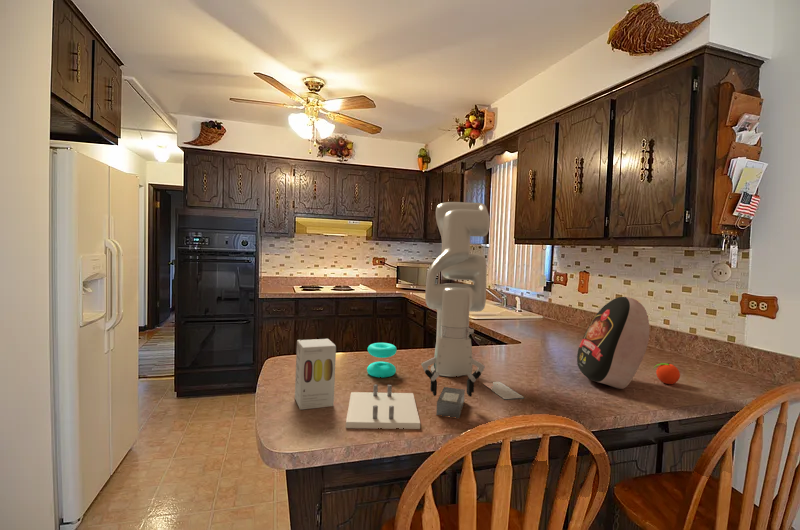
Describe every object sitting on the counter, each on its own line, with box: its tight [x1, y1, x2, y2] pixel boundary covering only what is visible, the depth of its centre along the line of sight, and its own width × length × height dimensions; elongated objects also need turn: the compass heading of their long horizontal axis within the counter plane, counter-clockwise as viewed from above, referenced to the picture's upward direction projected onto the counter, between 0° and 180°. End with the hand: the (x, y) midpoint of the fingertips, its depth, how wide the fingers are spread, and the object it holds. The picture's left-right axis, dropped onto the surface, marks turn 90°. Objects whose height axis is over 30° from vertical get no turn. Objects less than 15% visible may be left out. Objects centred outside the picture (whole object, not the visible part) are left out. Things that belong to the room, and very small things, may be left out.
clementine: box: [653, 362, 681, 385], centre depth 143 cm, size 8×7×7 cm
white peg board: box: [345, 383, 421, 430], centre depth 109 cm, size 20×18×4 cm
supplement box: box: [294, 338, 337, 410], centre depth 114 cm, size 10×9×17 cm
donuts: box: [366, 342, 398, 379], centre depth 141 cm, size 10×10×10 cm
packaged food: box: [576, 296, 651, 390], centre depth 140 cm, size 22×20×30 cm
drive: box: [436, 386, 465, 419], centre depth 113 cm, size 12×6×4 cm, turn 165°
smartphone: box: [491, 381, 525, 401], centre depth 129 cm, size 7×1×15 cm
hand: (451, 394), depth 113 cm, fingers open, 9 cm apart
